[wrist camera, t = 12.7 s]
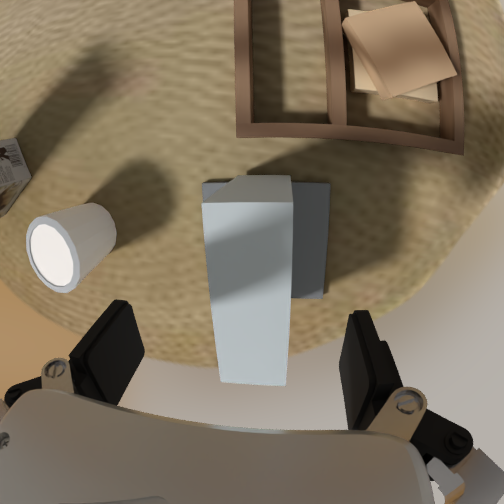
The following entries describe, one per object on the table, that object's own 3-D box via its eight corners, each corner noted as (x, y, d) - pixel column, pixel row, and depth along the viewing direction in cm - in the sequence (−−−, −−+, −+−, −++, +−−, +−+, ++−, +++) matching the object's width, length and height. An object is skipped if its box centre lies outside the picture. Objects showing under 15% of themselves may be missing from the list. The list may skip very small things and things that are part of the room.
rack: (238, -20, 16) (233, -34, 13) (434, 2, 14) (446, -7, 11) (241, 138, 21) (236, 137, 19) (448, 152, 19) (463, 155, 17)
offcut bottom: (343, 18, 17) (348, 9, 15) (419, 32, 16) (429, 25, 14) (349, 92, 19) (355, 88, 17) (426, 103, 19) (437, 101, 17)
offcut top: (339, 28, 16) (345, 17, 14) (405, 10, 14) (415, 1, 12) (382, 100, 17) (392, 97, 15) (443, 78, 16) (457, 74, 14)
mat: (204, 182, 23) (201, 183, 22) (329, 182, 22) (330, 184, 21) (212, 291, 27) (210, 294, 26) (321, 295, 26) (322, 298, 25)
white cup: (130, 216, 25) (86, 243, 18) (111, 273, 28) (73, 308, 21) (78, 184, 24) (29, 201, 18) (65, 240, 27) (22, 267, 20)
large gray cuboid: (238, 175, 22) (201, 202, 13) (290, 175, 21) (293, 202, 12) (243, 300, 26) (220, 381, 17) (288, 302, 26) (285, 385, 16)
